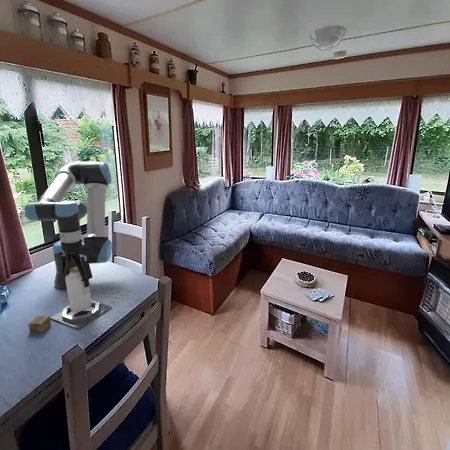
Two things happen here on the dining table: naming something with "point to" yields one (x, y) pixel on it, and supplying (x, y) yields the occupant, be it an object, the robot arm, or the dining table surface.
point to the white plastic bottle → (76, 291)
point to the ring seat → (80, 315)
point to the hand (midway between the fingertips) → (78, 290)
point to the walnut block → (39, 324)
